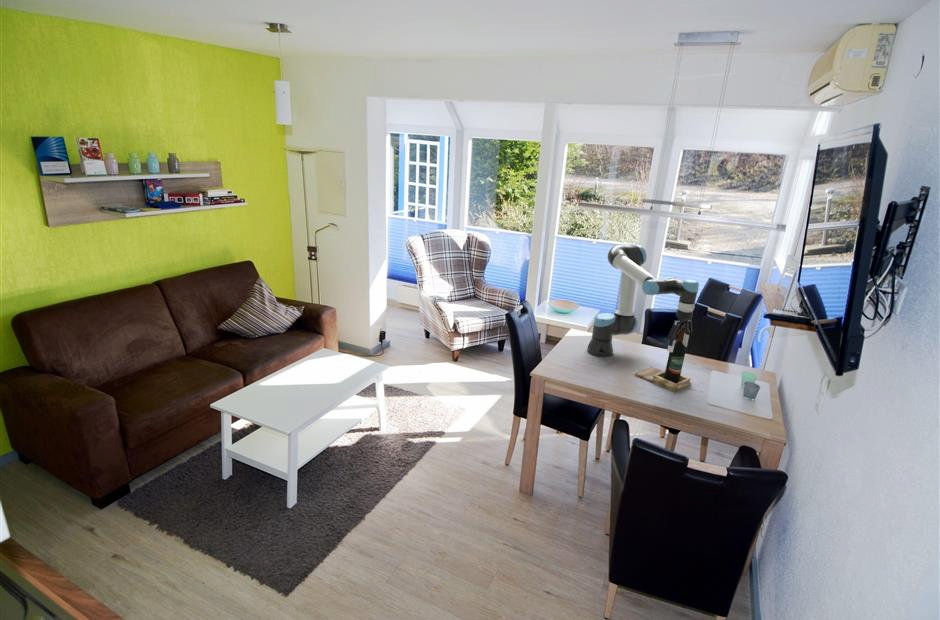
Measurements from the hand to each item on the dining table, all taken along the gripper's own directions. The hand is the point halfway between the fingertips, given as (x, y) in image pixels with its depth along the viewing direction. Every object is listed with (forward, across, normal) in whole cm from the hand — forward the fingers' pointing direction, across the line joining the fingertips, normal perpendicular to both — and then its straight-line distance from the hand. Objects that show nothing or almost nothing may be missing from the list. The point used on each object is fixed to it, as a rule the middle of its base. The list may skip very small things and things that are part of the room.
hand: (677, 348), depth 263 cm
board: (+20, 0, +4) cm, 20 cm away
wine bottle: (+19, 0, -1) cm, 19 cm away
